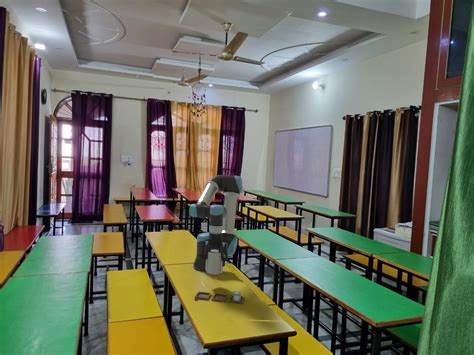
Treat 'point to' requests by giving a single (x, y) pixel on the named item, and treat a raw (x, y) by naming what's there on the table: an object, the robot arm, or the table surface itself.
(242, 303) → the tray
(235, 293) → the letter cube
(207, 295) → the tray
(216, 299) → the tray
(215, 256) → the cup
